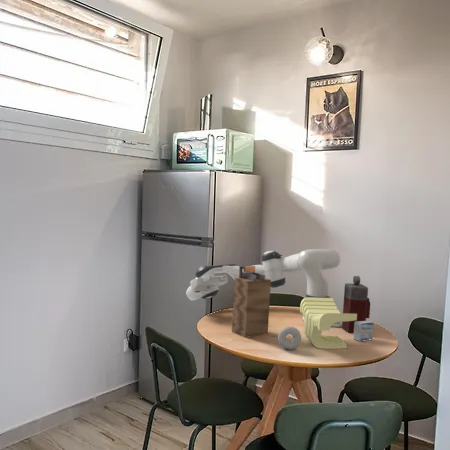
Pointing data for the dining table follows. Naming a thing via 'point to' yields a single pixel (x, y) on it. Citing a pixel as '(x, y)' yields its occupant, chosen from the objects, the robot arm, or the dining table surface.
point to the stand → (251, 304)
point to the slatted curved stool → (323, 321)
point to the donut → (294, 342)
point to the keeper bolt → (236, 270)
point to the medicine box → (363, 330)
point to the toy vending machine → (355, 303)
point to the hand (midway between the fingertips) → (217, 276)
